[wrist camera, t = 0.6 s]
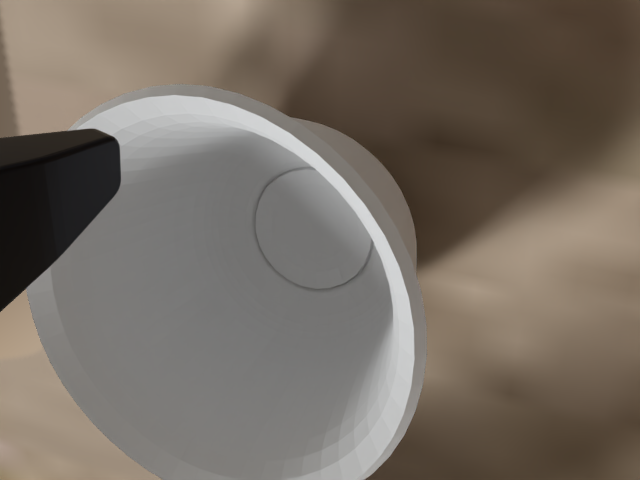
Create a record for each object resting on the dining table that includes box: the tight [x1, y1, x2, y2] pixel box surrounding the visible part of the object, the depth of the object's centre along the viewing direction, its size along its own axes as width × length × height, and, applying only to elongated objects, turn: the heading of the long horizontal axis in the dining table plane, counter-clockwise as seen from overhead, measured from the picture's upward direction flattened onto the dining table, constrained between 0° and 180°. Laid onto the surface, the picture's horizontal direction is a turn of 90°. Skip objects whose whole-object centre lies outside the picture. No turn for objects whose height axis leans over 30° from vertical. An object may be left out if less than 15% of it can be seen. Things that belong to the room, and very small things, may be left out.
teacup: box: [26, 84, 427, 480], centre depth 20 cm, size 12×15×10 cm
